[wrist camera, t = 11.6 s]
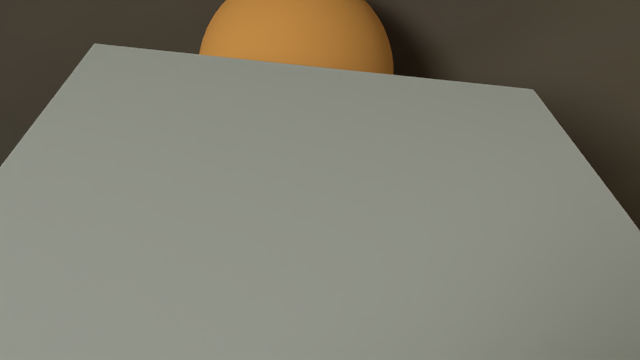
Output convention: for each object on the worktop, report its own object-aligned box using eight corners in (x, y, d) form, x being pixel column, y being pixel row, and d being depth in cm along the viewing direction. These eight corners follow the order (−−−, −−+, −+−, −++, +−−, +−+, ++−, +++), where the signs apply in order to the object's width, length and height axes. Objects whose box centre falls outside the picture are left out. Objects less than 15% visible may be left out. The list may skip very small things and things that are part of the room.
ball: (402, 191, 14) (368, 159, 18) (424, -38, 13) (382, -7, 18) (180, 180, 13) (206, 150, 18) (187, -58, 12) (212, -22, 17)
